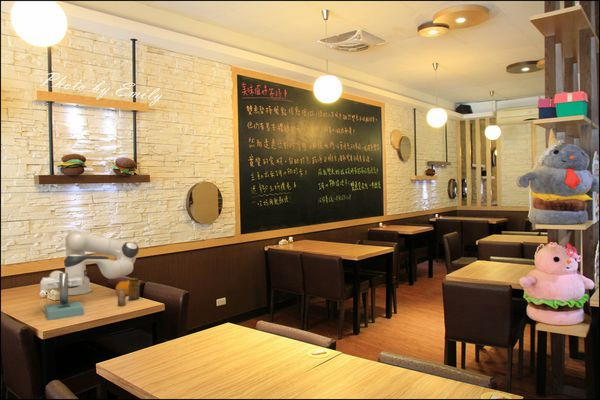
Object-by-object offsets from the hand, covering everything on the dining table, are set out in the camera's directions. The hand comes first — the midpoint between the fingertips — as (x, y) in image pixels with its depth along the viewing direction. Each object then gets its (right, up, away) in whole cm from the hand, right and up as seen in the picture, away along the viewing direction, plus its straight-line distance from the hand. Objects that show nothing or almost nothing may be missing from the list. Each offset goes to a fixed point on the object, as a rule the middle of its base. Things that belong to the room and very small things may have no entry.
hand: (64, 285), depth 231 cm
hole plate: (-1, -15, +1) cm, 15 cm away
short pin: (+23, -15, +18) cm, 33 cm away
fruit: (+15, -14, +44) cm, 49 cm away
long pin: (0, -9, +1) cm, 10 cm away
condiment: (+24, -14, +33) cm, 43 cm away
